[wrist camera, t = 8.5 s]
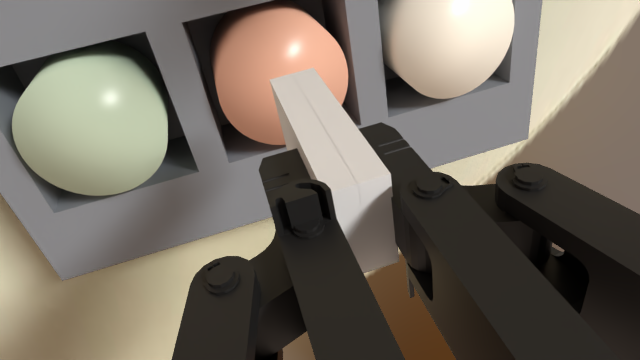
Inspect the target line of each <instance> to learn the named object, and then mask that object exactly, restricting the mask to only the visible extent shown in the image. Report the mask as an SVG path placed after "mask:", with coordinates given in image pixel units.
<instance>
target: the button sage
mask: <svg viewBox="0 0 640 360" xmlns="http://www.w3.org/2000/svg"><path fill="white" fill-rule="evenodd" d="M12 132H13V137H14V141H15V144H16V147H17V149H18V151H19V153H20V155H21V156H22V158H23V159H24V161H25V162H26V163H27V164H28V166H29V167H30V168H31V169H32V170H33V171H34V172H36V173H37V174H38V175H39V176H40V177H42V178H43V179H45V180H46V181H48V182H49V183H51V184H53V185H55V186H57V187H59V188H62V189H64V190H67V191H70V192H74V193H78V194H83V195H93V196H105V195H113V194H118V193H122V192H125V191H128V190H131V189H133V188H135V187H137V186H139V185H141V184H142V183H144V182H145V181H146V180H148V179H149V178H150V177H151V176H152V175H153V174H154V173H155V172H156V171H157V169H158V168H159V166H160V165H161V163H162V161H163V159H164V157H165V153H166V150H167V143H168V94H167V89H166V86H165V83H164V81H163V78H162V76H161V75H160V73H159V71H158V70H157V68H156V67H155V66H154V65H153V64H152V62H151V61H150V60H148V59H147V58H146V57H145V56H144V55H143V54H141V53H140V52H139V51H137V50H135V49H134V48H132V47H130V46H128V45H125V44H123V43H120V42H117V41H114V40H109V41H105V42H100V43H96V44H92V45H88V46H84V47H80V48H76V49H72V50H68V51H64V52H60V53H55V54H51V55H50V56H49V58H48V59H47V60H46V61H45V63H44V64H43V66H42V67H41V68H40V70H39V71H38V73H37V74H36V76H35V77H34V78H33V80H32V81H31V83H30V84H29V86H28V87H27V88H26V90H25V91H24V93H23V94H22V96H21V97H20V99H19V101H18V103H17V104H16V107H15V110H14V113H13V119H12Z"/></svg>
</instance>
